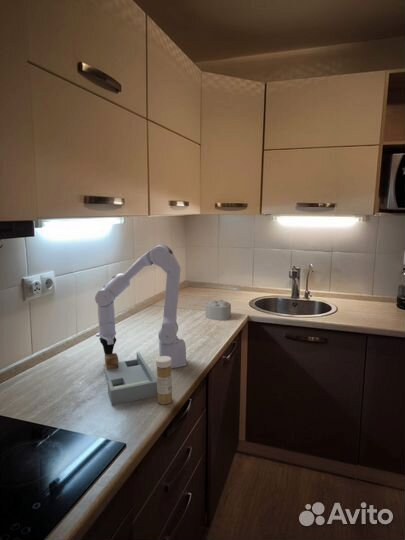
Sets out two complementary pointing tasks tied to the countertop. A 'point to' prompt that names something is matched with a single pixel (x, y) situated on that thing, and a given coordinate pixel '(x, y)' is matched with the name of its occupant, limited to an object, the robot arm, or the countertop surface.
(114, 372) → the grey pocketed tray
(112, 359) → the block
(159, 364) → the sprinkles bottle
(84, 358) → the countertop surface
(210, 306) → the lumpy-topped squat cylinder
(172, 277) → the robot arm
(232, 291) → the countertop surface
